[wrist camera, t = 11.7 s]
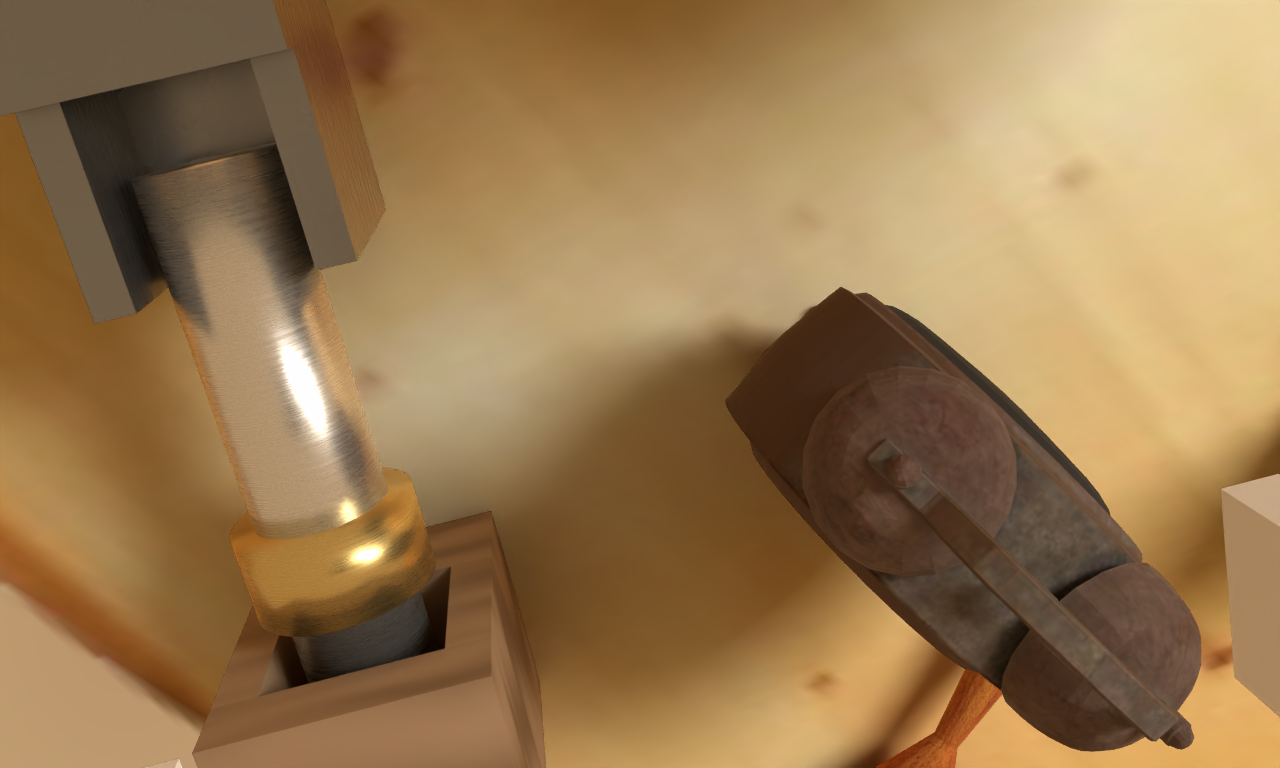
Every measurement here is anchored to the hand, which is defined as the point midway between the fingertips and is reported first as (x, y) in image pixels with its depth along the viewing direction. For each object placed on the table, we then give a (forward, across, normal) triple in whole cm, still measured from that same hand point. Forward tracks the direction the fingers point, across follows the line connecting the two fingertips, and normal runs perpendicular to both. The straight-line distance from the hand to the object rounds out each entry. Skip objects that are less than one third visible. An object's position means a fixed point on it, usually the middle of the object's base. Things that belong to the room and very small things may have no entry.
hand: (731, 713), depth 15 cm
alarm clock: (+32, +10, -9) cm, 35 cm away
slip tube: (+28, -10, -3) cm, 29 cm away
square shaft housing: (+32, -10, +8) cm, 34 cm away
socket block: (+32, -10, -14) cm, 36 cm away
